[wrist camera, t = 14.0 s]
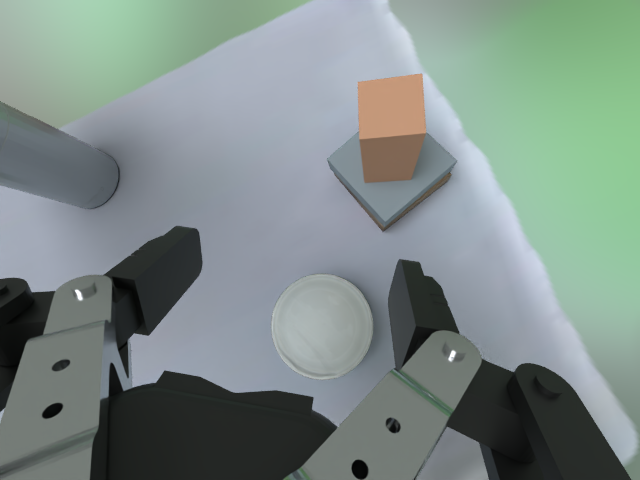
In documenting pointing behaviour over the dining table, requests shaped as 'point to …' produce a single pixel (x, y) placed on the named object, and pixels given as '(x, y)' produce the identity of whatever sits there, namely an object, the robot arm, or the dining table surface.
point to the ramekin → (322, 326)
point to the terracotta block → (391, 127)
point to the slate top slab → (390, 195)
